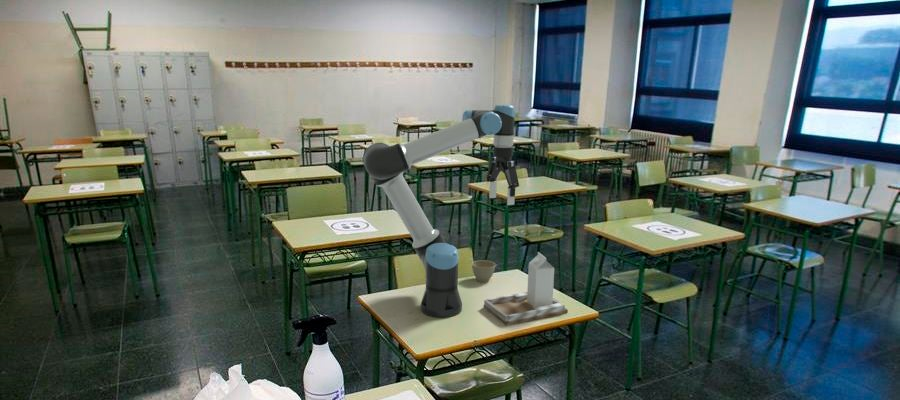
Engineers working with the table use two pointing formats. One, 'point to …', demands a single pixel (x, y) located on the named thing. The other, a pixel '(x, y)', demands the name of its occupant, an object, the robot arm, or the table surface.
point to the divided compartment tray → (520, 309)
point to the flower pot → (483, 270)
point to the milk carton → (540, 282)
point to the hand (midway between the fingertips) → (501, 201)
